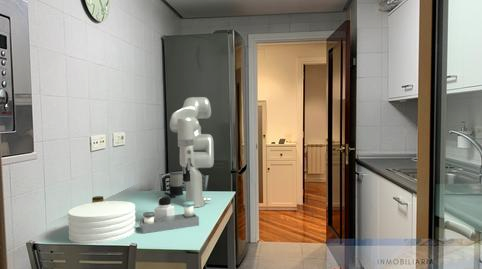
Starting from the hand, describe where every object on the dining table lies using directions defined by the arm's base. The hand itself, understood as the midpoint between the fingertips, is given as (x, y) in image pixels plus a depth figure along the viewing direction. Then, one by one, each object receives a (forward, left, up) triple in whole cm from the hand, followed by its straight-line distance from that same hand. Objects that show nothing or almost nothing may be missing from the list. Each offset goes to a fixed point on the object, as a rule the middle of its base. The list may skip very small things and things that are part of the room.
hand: (186, 181), depth 167 cm
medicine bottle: (+9, -10, -21) cm, 25 cm away
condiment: (+38, -28, -21) cm, 52 cm away
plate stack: (+38, -5, -21) cm, 44 cm away
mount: (+9, 0, -21) cm, 23 cm away
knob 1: (+18, 0, -20) cm, 27 cm away
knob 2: (-1, 0, -17) cm, 17 cm away
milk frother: (-10, -67, -21) cm, 71 cm away
